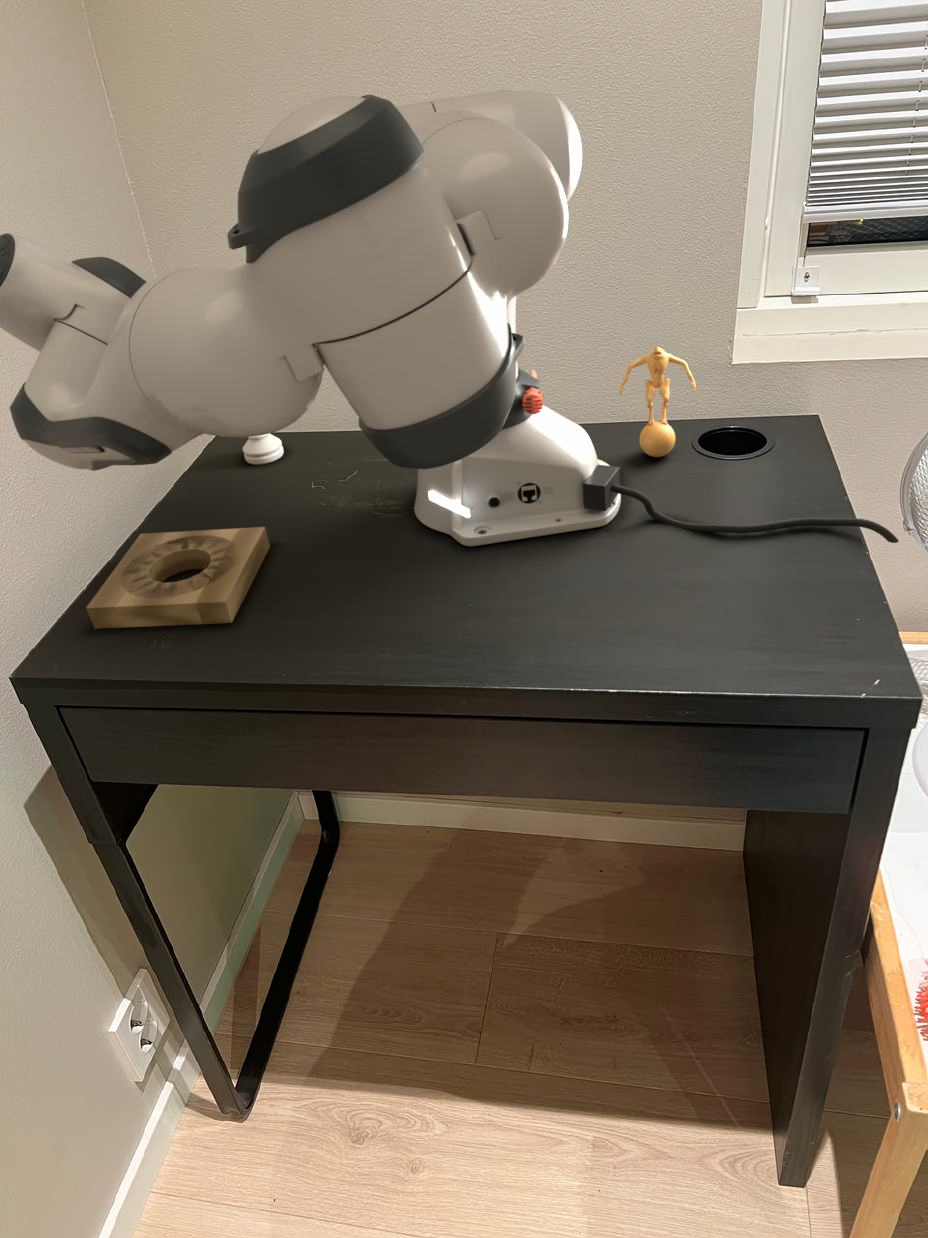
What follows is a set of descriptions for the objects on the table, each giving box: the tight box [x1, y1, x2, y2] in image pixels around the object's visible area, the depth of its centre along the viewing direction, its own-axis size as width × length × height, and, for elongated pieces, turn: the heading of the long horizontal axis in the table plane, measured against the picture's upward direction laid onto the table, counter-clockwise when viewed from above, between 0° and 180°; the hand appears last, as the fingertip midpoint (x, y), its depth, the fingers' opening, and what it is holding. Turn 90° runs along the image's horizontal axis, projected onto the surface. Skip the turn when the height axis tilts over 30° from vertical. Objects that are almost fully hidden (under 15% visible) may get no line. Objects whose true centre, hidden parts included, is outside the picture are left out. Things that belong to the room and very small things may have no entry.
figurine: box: [619, 346, 697, 458], centre depth 103 cm, size 8×6×12 cm
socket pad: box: [85, 526, 271, 630], centre depth 94 cm, size 14×14×2 cm
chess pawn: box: [242, 433, 285, 465], centre depth 116 cm, size 5×5×9 cm
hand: (208, 399), depth 108 cm, fingers open, 8 cm apart
